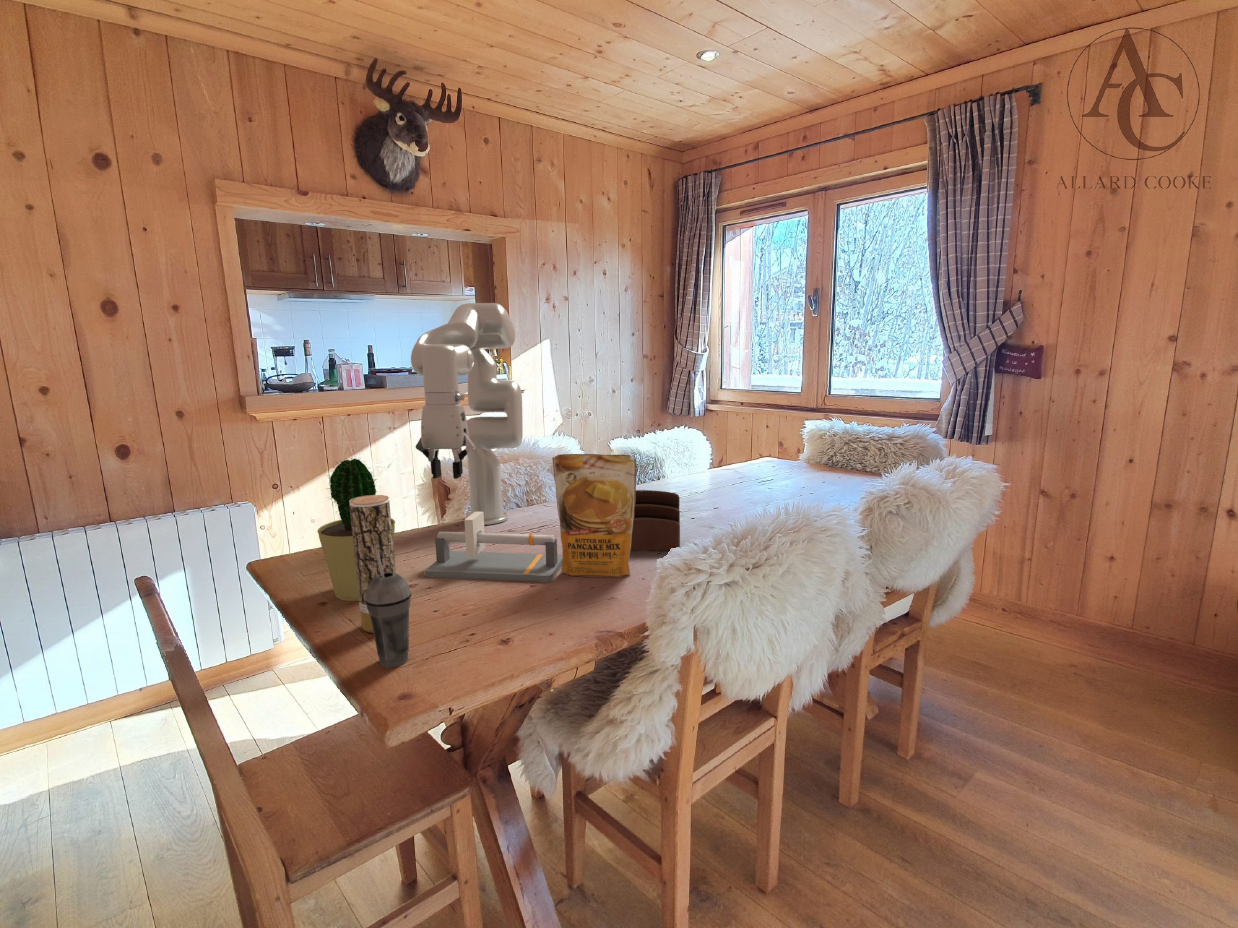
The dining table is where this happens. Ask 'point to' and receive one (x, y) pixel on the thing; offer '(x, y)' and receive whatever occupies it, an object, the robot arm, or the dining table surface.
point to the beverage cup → (389, 616)
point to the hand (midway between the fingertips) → (447, 476)
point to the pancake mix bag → (595, 512)
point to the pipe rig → (496, 559)
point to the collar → (474, 533)
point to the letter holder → (656, 521)
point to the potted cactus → (345, 526)
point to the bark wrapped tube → (371, 544)
